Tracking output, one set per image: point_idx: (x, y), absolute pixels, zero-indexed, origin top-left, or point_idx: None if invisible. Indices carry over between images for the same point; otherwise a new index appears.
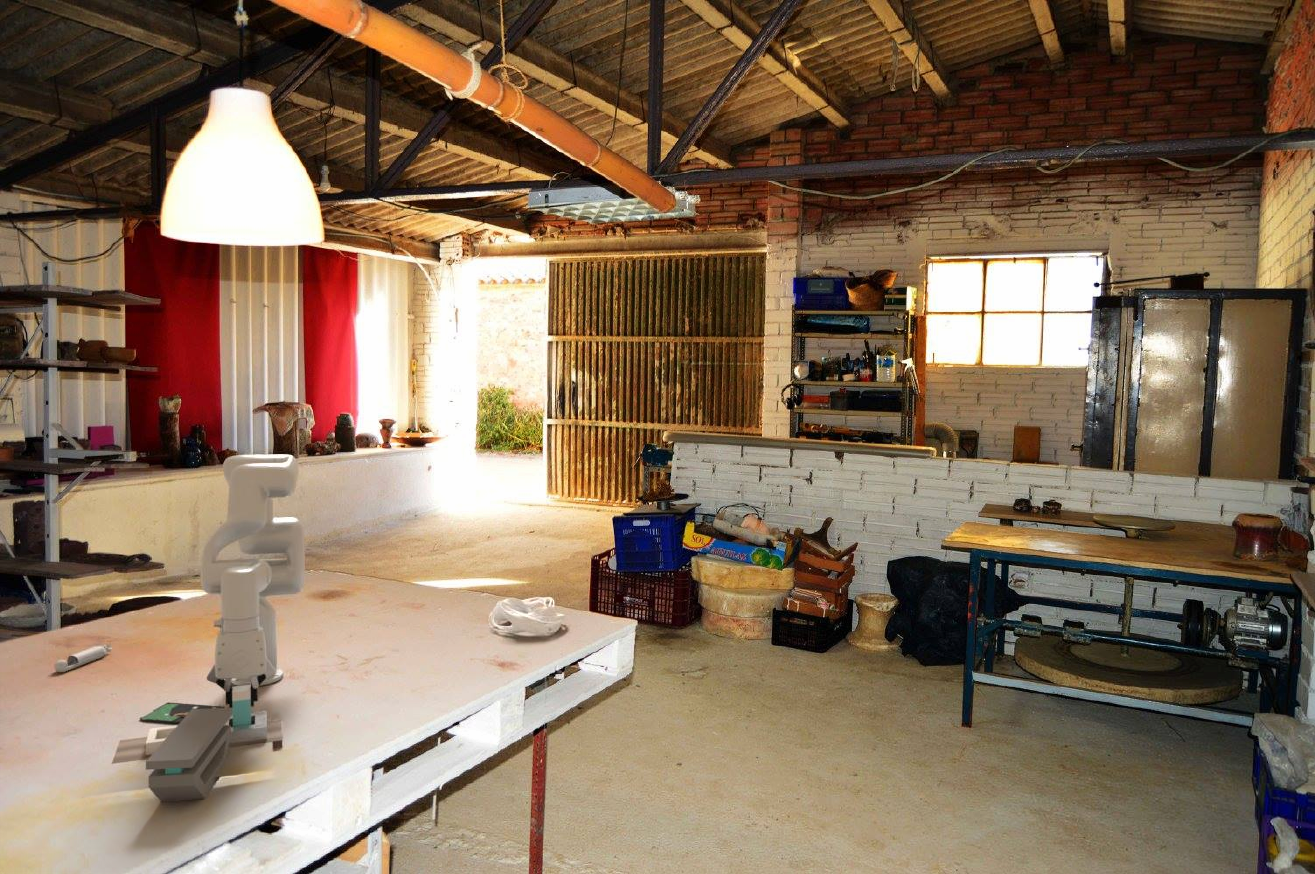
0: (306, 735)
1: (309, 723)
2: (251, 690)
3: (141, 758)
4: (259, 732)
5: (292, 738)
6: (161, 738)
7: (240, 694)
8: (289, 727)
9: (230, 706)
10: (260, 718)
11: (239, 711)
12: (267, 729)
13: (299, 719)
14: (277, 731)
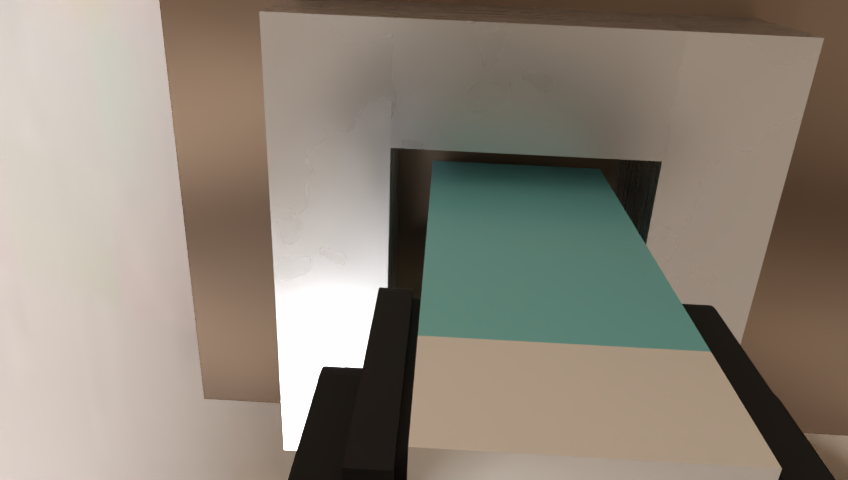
0: (4, 118)
1: (21, 339)
2: (389, 451)
3: None
4: (351, 8)
5: (112, 99)
6: None
7: (600, 408)
8: (159, 323)
9: (706, 316)
10: (335, 284)
11: (568, 255)
12: None
13: (104, 429)
14: (214, 174)
